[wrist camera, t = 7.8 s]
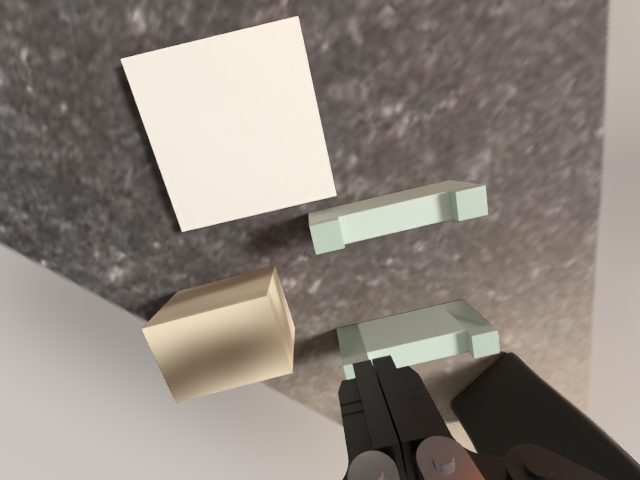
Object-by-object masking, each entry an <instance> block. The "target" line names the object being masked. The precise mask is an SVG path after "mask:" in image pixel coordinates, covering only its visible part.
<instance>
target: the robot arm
mask: <svg viewBox="0 0 640 480" xmlns="http://www.w3.org/2000/svg"><path fill="white" fill-rule="evenodd" d="M372 364H373V365H372ZM352 365H353V369H354V374H355V378H353V379H349V380H344V381H342V383H341V386H340V389H339V392H338V394H339V401H340V406H341V413H342V420H343V426H344V433H345V439H346V445H347V452H348V460H349V463H348V469H347V472H346V475H345V476H344V478H343V480H610V479H608V478H606V477H603V476H601V475H599V474H597V473H595V472H593V471H591V470H589V469H587V468H585V467H583V466H581V465H579V464H577V463H575V462H573V461H571V460H569V459H566V458H564V457H562V456H560V455H558V454H556V453H554V452H552V451H550V450H548V449H546V448H544V447H541V446H538V445H535V444H527V443H524V444H518V445H515V446H513V447H511V448H510V449H509V450H508V452H507V454H506V457H499V456H489V455H482V454H477V453H474V452H472V451H469V450H468V449H466V448H464V447H463V446H462V445H461V444H459V443H458V442H457V441H456V440H455V439H454V438H453V437H452V435H451V433H450V432H449V430H448V428H447V426H446V424H445V422H444V420H443V419H442V417H441V415H440V413H439V411H438V409H437V407H436V406H435V404H434V402H433V400H432V398H431V397H430V394H429V393H428V391H427V389H426V388H425V385H424V383H423V381H422V380H421V378H420V376H419V374H418V373H416V372H415V371H414V370H413V369H411V368H410V367H409V366H405V367H401V368H396V366H395V364H394V361H393V359H392V357H391V355H388V356H383V357H379V358H375V359H372V362H371V360H366V361H362V362H357V363H353V364H352Z"/></svg>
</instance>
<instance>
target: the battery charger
mask: <svg viewBox="0 0 640 480" xmlns="http://www.w3.org/2000/svg"><path fill="white" fill-rule="evenodd" d="M451 408H452V410H453V412H454V413H455V415H456V417H457V418H458V420H459V421H460V423H461V425H462V426H463V428H464V430H465V431H466V433H467V435H468V436H469V438H470V440H471V442H472V443H473V445H474V447H475V449H476V451H477V453H478V454H482V455H489V456H499V457H506V454H507V452H508V450H509V449H510V448H511V447H513V446H515V445H518V444H524V443H527V444H535V445H538V446H541V447H544V448H546V449H548V450H550V451H552V452H554V453H556V454H558V455H560V456H562V457H564V458H566V459H569V460H571V461H573V462H575V463H577V464H579V465H581V466H583V467H585V468H587V469H589V470H591V471H593V472H595V473H597V474H599V475H601V476H603V477H606V478H608V479H610V480H640V463H639V462H638V461H637V460H636V459H635V458H634V457H633V456H632V455H630V454H629V453H628V452H627V451H626V450H625V449H624V448H623V447H622V446H621V445H620V444H619V443H617V441H615V440H614V439H613V438H612V437H611V436H610V435H609V434H608V433H607V432H605V431H604V430H603V429H602V428H601V427H600V426H599V425H598V424H596V423H595V422H594V421H593V420H592V419H591V418H590V417H588V416H587V415H586V414H585V413H584V412H582V411H581V410H580V409H579V408H578V407H576V406H575V405H574V404H573V403H572V402H570V401H569V400H568V399H567V398H566V397H564V396H563V395H562V394H561V393H560V392H558V391H557V390H556V389H555V388H553V387H552V386H551V385H550V384H548V383H547V382H546V381H545V380H544V379H543V378H542V377H541V376H540V375H538V374H537V373H536V372H535V371H534V370H533V369H532V368H531V367H530V366H529V365H528V364H527V363H526V362H525V361H524V360H523V359H522V358H521V357H520V356H518V355H515V354H514V353H512V352H510V353H508V354H506V355H505V356H504V357H503V358H501V359H500V360H499V361H498V362H497V363H495V364H494V365H493V366H492V367H491V368H489V369H488V370H487V371H486V372H485V373H484V374H483V375H481V376H480V377H479V378H478V379H477V380H476V381H475V382H474V383H473V384H472V385H470V386H469V387H468V388H467V389H466V390H465V391H464V392H463V393H462V394H461V395H460V396H459V397H458V398H457V399H456V400H455V401H454V402H453V403H452V404H451Z"/></svg>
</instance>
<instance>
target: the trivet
mask: <svg viewBox="0 0 640 480" xmlns="http://www.w3.org/2000/svg"><path fill="white" fill-rule="evenodd" d="M121 62H122V65H123V68H124V70H125V73H126V76H127V79H128V82H129V84H130V87H131V90H132V93H133V96H134V98H135V101H136V104H137V107H138V110H139V112H140V115H141V118H142V121H143V124H144V126H145V129H146V132H147V135H148V138H149V141H150V143H151V146H152V149H153V152H154V155H155V157H156V160H157V163H158V166H159V169H160V171H161V174H162V177H163V180H164V183H165V185H166V188H167V191H168V194H169V197H170V199H171V202H172V205H173V208H174V211H175V213H176V216H177V219H178V222H179V225H180V227H181V230H182V232H184V231H189V230H193V229H197V228H201V227H206V226H210V225H214V224H218V223H223V222H227V221H231V220H235V219H240V218H244V217H248V216H252V215H257V214H261V213H265V212H269V211H274V210H278V209H282V208H286V207H291V206H295V205H299V204H303V203H308V202H312V201H316V200H320V199H325V198H329V197H333V196H337V195H336V191H335V186H334V181H333V177H332V172H331V167H330V163H329V158H328V153H327V149H326V144H325V139H324V135H323V130H322V125H321V121H320V116H319V111H318V107H317V102H316V97H315V93H314V88H313V83H312V78H311V74H310V69H309V64H308V60H307V55H306V50H305V46H304V41H303V36H302V32H301V27H300V22H299V18H298V16H296V17H292V18H288V19H284V20H280V21H275V22H271V23H267V24H263V25H259V26H255V27H251V28H247V29H242V30H238V31H234V32H230V33H226V34H222V35H218V36H213V37H209V38H205V39H201V40H197V41H193V42H189V43H185V44H180V45H176V46H172V47H168V48H164V49H160V50H156V51H151V52H147V53H143V54H139V55H135V56H131V57H127V58H122V59H121Z"/></svg>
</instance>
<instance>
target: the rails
mask: <svg viewBox="0 0 640 480" xmlns="http://www.w3.org/2000/svg"><path fill="white" fill-rule="evenodd" d="M308 215H309V227H310V231H311V236H312V240H313V244H314V248H315V252H316V254H321V253H325V252H329V251H334V250H338V249H342V248H345V246H344V244H347V243H352V242H356V241H360V240H364V239H369V238H373V237H377V236H382V235H386V234H390V233H394V232H399V231H403V230H407V229H412V228H416V227H420V226H424V225H429V224H433V223H437V222H442V221H446V220H450V219H455V220H457V221H462V220H466V219H471V218H475V217H479V216H484V215H488V208H487V196H486V185H481V184H474V183H467V182H459V181H452V180H447V181H443V182H439V183H435V184H430V185H426V186H422V187H417V188H413V189H409V190H405V191H400V192H396V193H392V194H388V195H383V196H379V197H375V198H371V199H366V200H362V201H358V202H354V203H349V204H345V205H341V206H337V207H332V208H328V209H324V210H320V211H315V212H311V213H308ZM336 330H337V335H338V341H339V346H340V351H341V357H342V362H343V367H344V371H345V375H346V379H347V380H349V379H353V378H355V374H354V369H353V365H352V364H353V363H357V362H362V361H366V360H371V362H372V359H375V358H379V357H383V356H388V355H391V357H392V359H393V361H394V364H395V366H396V368H400V367H404V366H409V365H413V364H418V363H422V362H426V361H431V360H435V359H439V358H444V357H448V356H452V355H457V354H461V353H466V352H469V353H470V354H471V355H472V357H473V358H474V359H475V358H480V357H484V356H489V355H493V354H497V353H500V348H499V336H498V330H497V329H496V328H495V327H494V326H493V325H491V324H490V323H489V322H488V321H487V320H486V319H485V318H483V317H482V316H481V315H480V314H479V313H478V312H477V311H476V310H474V309H473V308H472V307H471V306H470V305H469V304H468V303H466V302H465V301H464V300H458V301H454V302H450V303H445V304H441V305H437V306H432V307H428V308H424V309H419V310H415V311H411V312H406V313H402V314H398V315H393V316H389V317H385V318H380V319H376V320H372V321H367V322H363V323H359V324H354V325H350V326H346V327H341V328H337V329H336ZM372 365H373V364H372Z"/></svg>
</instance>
